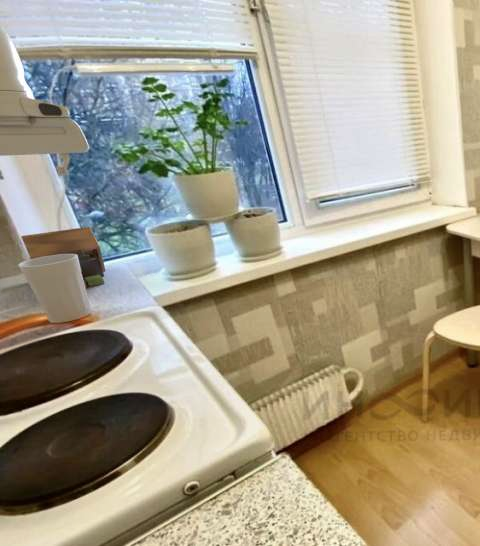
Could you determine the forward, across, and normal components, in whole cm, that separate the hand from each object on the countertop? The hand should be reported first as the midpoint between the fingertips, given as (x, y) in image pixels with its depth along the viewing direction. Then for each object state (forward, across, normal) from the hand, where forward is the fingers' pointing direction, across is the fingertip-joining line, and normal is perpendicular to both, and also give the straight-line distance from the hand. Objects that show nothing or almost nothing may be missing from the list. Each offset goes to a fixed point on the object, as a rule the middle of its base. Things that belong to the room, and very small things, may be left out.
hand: (32, 177), depth 89 cm
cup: (+26, -3, -18) cm, 32 cm away
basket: (+16, +1, +6) cm, 17 cm away
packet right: (+25, +4, +4) cm, 26 cm away
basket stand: (+26, +1, +14) cm, 30 cm away
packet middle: (+25, +1, +4) cm, 25 cm away
